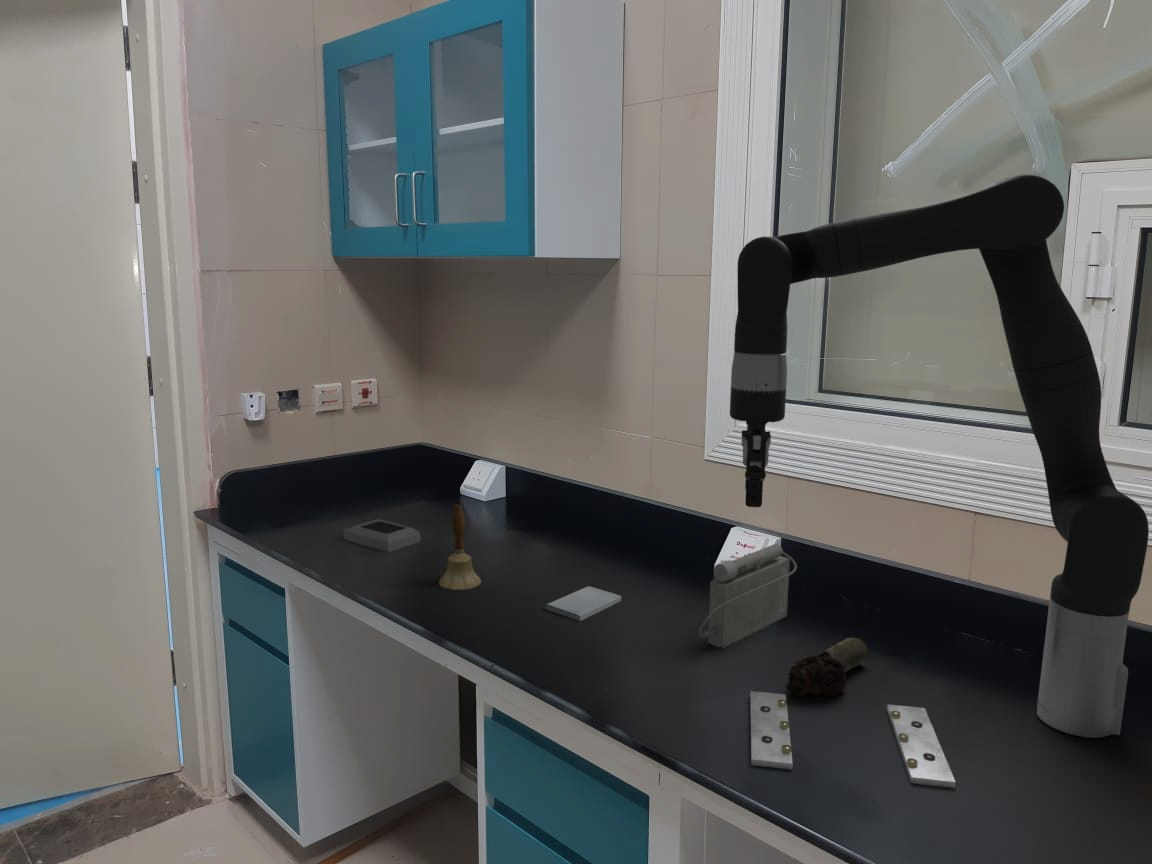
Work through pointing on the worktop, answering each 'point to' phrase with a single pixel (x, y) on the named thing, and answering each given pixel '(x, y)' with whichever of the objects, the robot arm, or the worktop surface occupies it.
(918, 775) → the hinge leaves
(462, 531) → the hand bell
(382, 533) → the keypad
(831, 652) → the cylinder with dark lump
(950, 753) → the worktop surface
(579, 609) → the hard drive
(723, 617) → the geiger counter
